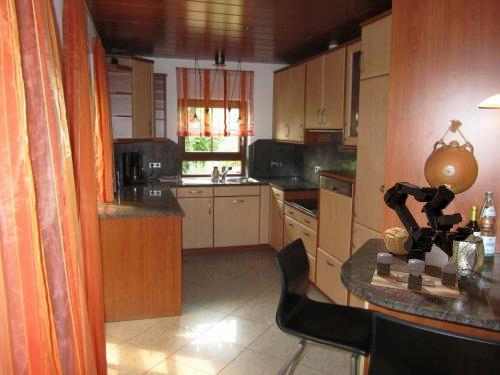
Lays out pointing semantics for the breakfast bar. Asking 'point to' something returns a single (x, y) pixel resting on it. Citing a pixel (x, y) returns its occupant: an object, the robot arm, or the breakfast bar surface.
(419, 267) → the far button
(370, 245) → the breakfast bar surface
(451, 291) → the button panel
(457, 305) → the breakfast bar surface
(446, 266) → the button
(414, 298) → the breakfast bar surface
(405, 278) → the pattern card
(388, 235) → the sculpture
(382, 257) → the button
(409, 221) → the robot arm
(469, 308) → the breakfast bar surface
